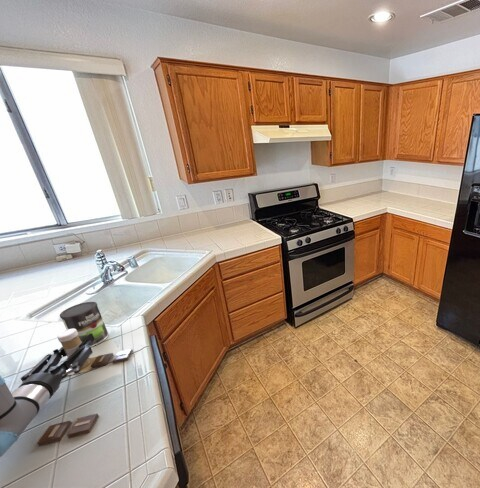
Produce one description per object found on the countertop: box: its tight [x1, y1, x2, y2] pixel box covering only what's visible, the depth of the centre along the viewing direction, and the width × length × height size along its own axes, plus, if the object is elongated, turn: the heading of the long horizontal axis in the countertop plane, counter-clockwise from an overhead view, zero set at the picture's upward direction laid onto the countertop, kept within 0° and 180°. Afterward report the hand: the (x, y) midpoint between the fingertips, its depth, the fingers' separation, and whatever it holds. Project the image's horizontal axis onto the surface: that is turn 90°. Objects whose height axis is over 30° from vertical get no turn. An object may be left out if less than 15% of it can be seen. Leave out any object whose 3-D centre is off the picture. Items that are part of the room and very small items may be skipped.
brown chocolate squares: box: [36, 413, 100, 447], centre depth 66 cm, size 10×4×1 cm, turn 106°
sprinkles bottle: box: [56, 329, 90, 369], centre depth 85 cm, size 5×5×14 cm
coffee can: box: [59, 301, 110, 348], centre depth 98 cm, size 10×10×14 cm
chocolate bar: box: [66, 348, 134, 377], centre depth 89 cm, size 18×7×1 cm, turn 106°
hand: (83, 338), depth 90 cm, fingers closed on sprinkles bottle, 4 cm apart
